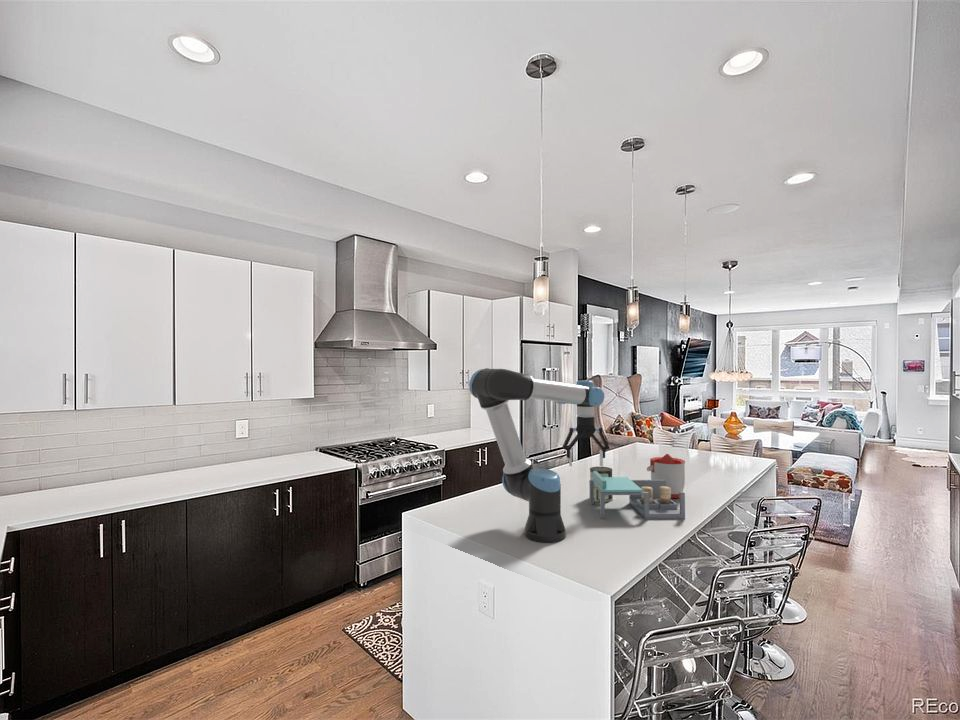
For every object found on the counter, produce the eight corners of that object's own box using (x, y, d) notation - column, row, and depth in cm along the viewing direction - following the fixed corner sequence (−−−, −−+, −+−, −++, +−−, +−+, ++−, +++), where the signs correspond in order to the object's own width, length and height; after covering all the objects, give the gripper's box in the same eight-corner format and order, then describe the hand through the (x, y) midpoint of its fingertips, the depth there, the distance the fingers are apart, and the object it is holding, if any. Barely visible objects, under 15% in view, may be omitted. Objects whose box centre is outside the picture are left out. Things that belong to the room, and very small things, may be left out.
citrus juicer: (643, 490, 233) (642, 450, 233) (679, 491, 232) (678, 450, 232) (651, 499, 218) (651, 456, 218) (690, 500, 216) (689, 457, 216)
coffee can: (603, 494, 227) (603, 465, 227) (617, 500, 217) (617, 469, 217) (585, 497, 223) (585, 467, 223) (598, 503, 213) (598, 472, 214)
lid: (642, 492, 191) (642, 482, 191) (603, 492, 191) (603, 482, 191) (626, 479, 213) (626, 469, 213) (591, 479, 213) (591, 470, 213)
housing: (685, 518, 191) (684, 492, 191) (601, 519, 191) (600, 493, 191) (664, 502, 213) (664, 479, 213) (589, 503, 213) (589, 480, 213)
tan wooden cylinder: (672, 508, 198) (672, 489, 199) (661, 508, 199) (661, 489, 199) (668, 504, 203) (668, 486, 203) (658, 504, 203) (657, 486, 203)
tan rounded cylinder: (643, 508, 199) (643, 489, 199) (640, 505, 203) (639, 486, 203) (654, 508, 199) (654, 489, 199) (650, 504, 203) (650, 486, 203)
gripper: (612, 415, 206) (612, 463, 206) (555, 415, 207) (556, 463, 207) (616, 417, 199) (616, 467, 198) (558, 417, 199) (558, 467, 199)
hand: (585, 465), depth 203 cm, fingers open, 12 cm apart
